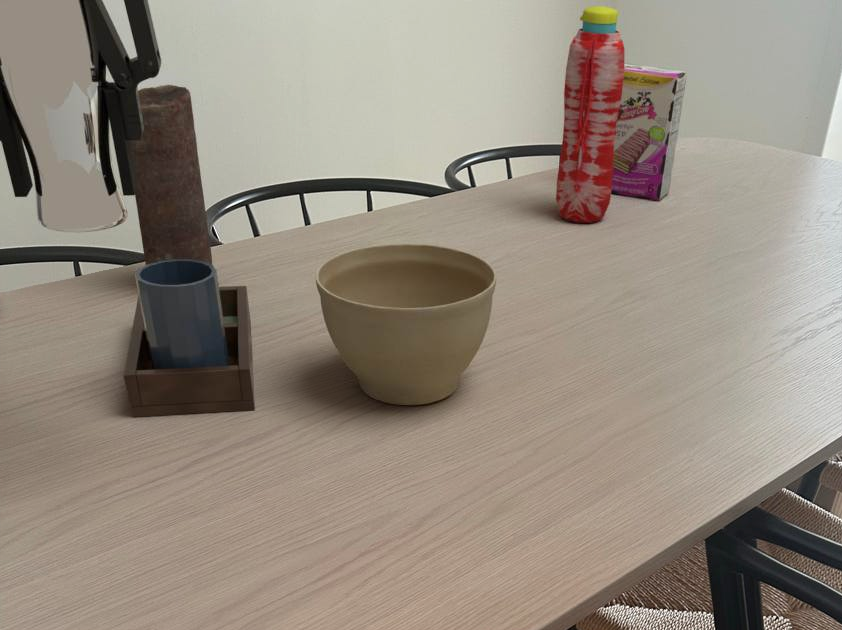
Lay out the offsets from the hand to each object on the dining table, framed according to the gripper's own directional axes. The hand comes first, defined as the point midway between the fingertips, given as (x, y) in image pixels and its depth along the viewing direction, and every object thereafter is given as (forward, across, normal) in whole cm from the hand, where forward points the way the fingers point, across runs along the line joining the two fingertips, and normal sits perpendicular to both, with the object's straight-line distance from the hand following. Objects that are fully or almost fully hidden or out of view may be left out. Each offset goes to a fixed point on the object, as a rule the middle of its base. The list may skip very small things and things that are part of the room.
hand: (77, 189), depth 69 cm
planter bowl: (+21, +25, +11) cm, 35 cm away
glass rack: (+21, +4, +18) cm, 28 cm away
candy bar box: (+22, +66, +73) cm, 100 cm away
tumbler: (+20, +4, +13) cm, 24 cm away
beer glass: (+2, 0, 0) cm, 2 cm away
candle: (+22, +2, +40) cm, 46 cm away
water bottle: (+22, +56, +62) cm, 87 cm away
